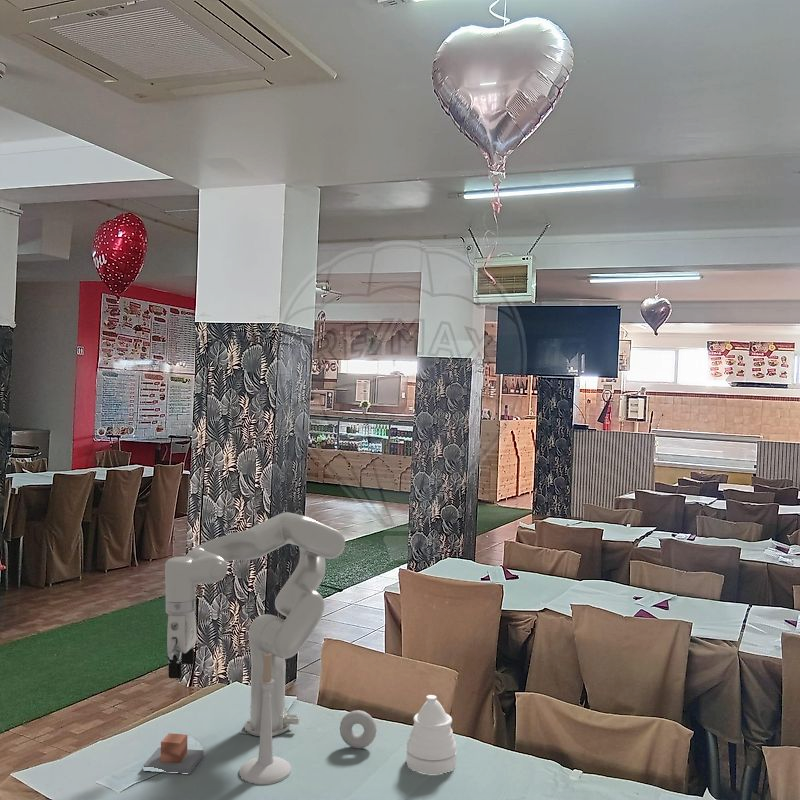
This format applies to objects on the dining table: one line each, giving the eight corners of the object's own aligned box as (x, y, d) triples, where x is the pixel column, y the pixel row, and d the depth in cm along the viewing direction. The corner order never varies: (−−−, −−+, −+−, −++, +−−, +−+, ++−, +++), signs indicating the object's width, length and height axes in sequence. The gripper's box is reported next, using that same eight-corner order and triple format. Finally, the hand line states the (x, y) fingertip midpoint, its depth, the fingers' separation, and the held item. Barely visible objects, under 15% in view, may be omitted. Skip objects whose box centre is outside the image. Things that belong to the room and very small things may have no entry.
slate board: (203, 756, 205) (203, 750, 205) (189, 774, 196) (189, 768, 196) (158, 753, 207) (158, 747, 206) (142, 771, 197) (142, 765, 197)
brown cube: (187, 753, 203) (187, 734, 203) (179, 763, 198) (180, 743, 198) (168, 752, 204) (168, 733, 204) (160, 761, 199) (160, 741, 199)
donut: (377, 746, 213) (377, 709, 213) (375, 752, 210) (375, 714, 210) (340, 743, 214) (341, 706, 214) (337, 749, 211) (338, 711, 211)
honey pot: (452, 778, 197) (454, 706, 196) (401, 772, 199) (403, 701, 199) (459, 754, 209) (460, 687, 209) (411, 749, 212) (412, 682, 212)
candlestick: (241, 787, 190) (243, 663, 190) (237, 762, 202) (239, 645, 202) (294, 781, 193) (296, 659, 193) (287, 757, 206) (290, 642, 205)
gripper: (184, 616, 196) (184, 684, 197) (205, 596, 213) (205, 658, 214) (154, 615, 197) (155, 683, 197) (177, 595, 214) (178, 658, 214)
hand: (181, 670), depth 206 cm, fingers open, 9 cm apart
